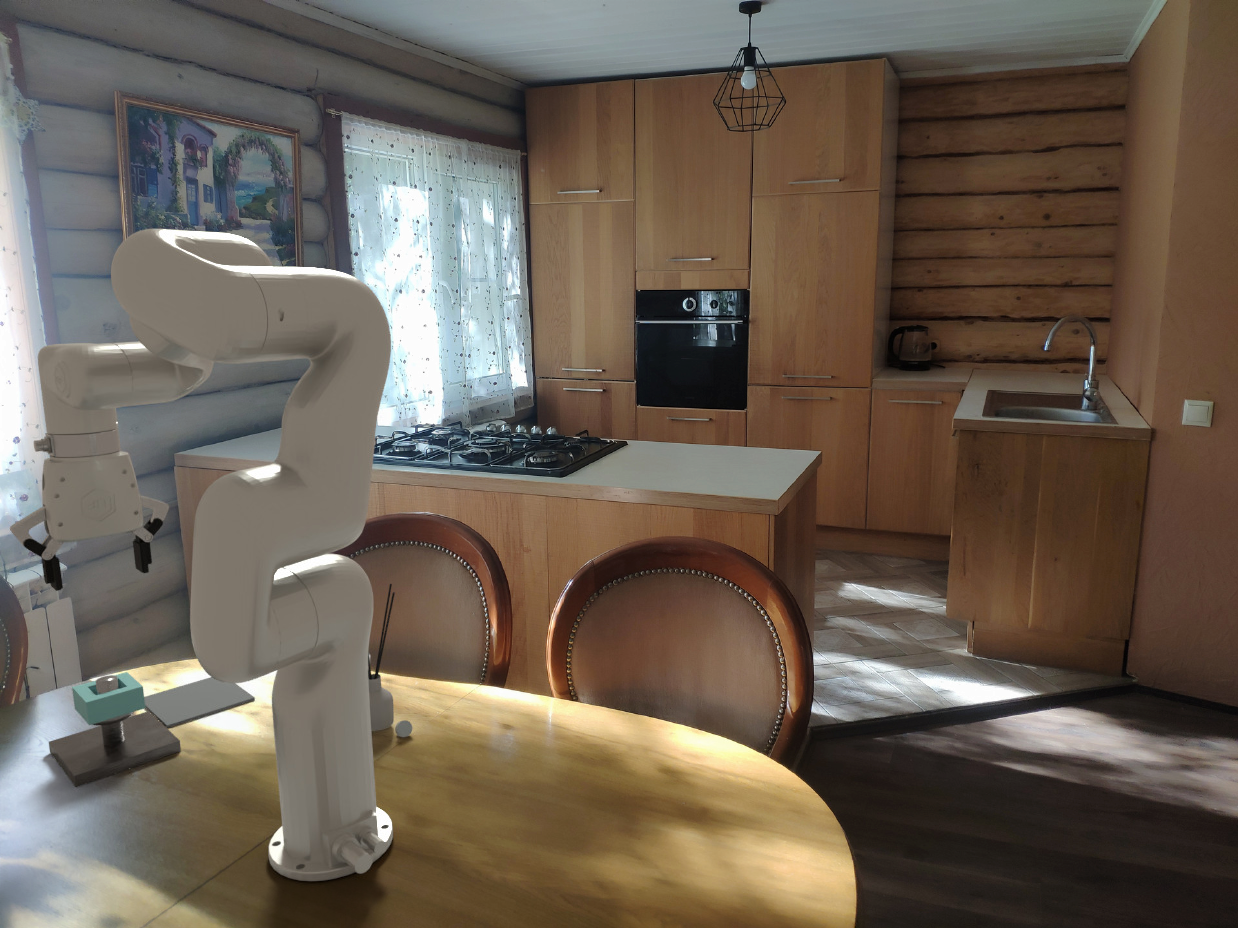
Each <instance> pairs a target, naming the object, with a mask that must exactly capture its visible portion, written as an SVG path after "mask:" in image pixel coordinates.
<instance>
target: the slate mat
mask: <svg viewBox="0 0 1238 928" xmlns="http://www.w3.org/2000/svg"><path fill="white" fill-rule="evenodd" d="M255 699H256V697H255V696H253V695H252V694H250V693H249V692H248V691H246V690H245V689H244V688H242V687H241V686H239V685H238V683H224V682H220V681H218V680H216V679H214V678H212V677H211V676H209V677H207V678H204V679H200V680H197V681H194V682H190V683H187V684H186V683H185V684H183V685H180V686H177V687H174V688H169V689H167V690H163V691H159V692H156V693H154V694H150V695H147V696H145V695H144V700H145V709H146V710H147V711H149V712H150V713H151V714H152V715H153V716H154V717H155V718H156V719H158V720H159V721H160V722H161V723H162V724H163V725H164V726H165V727H166V728H167V729H169V728H174V727H175V726H179V725H181V724H184V723H185V724H186V723H188V722H192V721H194V720H198V719H201V718H203V717H207V716H209V715H214V714H215V713H216V714H217V713H219V712H223V711H225V710H228V709H230V708H235V707H237V706H240V705H243V704H244V705H245V704H246V703H250V702H253V701H255Z"/></svg>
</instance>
